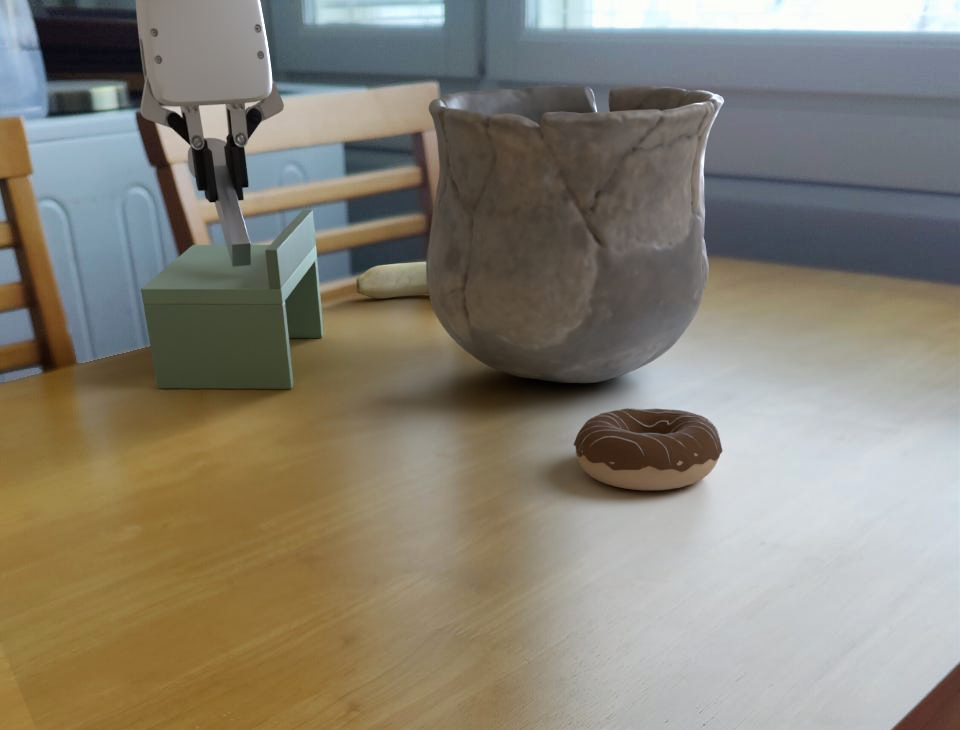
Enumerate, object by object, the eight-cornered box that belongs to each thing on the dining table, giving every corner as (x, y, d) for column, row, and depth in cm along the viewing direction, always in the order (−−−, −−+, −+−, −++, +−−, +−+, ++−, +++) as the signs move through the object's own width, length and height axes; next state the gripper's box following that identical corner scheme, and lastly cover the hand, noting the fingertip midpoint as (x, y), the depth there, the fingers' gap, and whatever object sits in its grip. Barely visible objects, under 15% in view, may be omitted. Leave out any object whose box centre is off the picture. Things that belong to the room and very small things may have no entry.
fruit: (374, 288, 136) (372, 256, 134) (505, 293, 133) (505, 260, 131) (355, 304, 131) (352, 271, 129) (490, 310, 128) (490, 276, 126)
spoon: (267, 264, 105) (267, 241, 103) (216, 268, 104) (215, 245, 102) (233, 148, 109) (232, 123, 107) (183, 151, 108) (182, 126, 106)
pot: (596, 325, 122) (607, 74, 109) (757, 381, 106) (793, 96, 93) (380, 366, 112) (363, 94, 99) (523, 435, 96) (526, 122, 83)
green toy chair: (157, 388, 107) (133, 249, 100) (205, 334, 121) (187, 209, 114) (291, 389, 106) (276, 249, 100) (323, 334, 121) (313, 209, 114)
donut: (622, 510, 83) (626, 453, 81) (547, 463, 91) (548, 409, 88) (748, 483, 87) (755, 427, 85) (666, 440, 95) (670, 388, 92)
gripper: (280, -68, 99) (303, 186, 110) (83, -64, 95) (128, 198, 107) (299, -68, 94) (321, 199, 105) (91, -64, 90) (137, 213, 101)
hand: (224, 197), depth 106 cm, fingers closed on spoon, 1 cm apart
